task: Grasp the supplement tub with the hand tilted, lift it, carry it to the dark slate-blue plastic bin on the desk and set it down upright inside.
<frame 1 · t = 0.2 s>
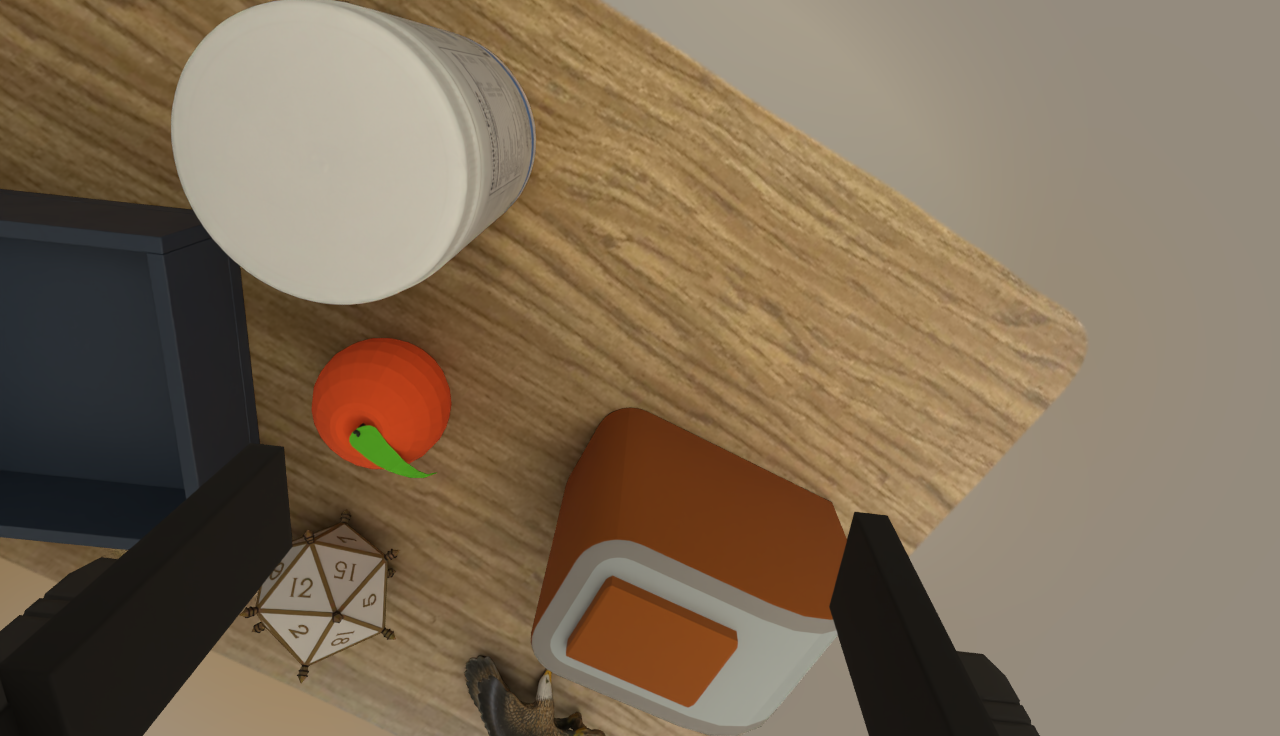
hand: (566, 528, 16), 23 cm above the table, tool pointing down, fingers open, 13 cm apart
clementine: (413, 383, 41), on the table
eagle figurine: (533, 683, 50), on the table
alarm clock: (691, 501, 44), on the table
game die: (354, 547, 46), on the table
bin: (97, 351, 41), on the table
supplement tub: (447, 133, 36), on the table
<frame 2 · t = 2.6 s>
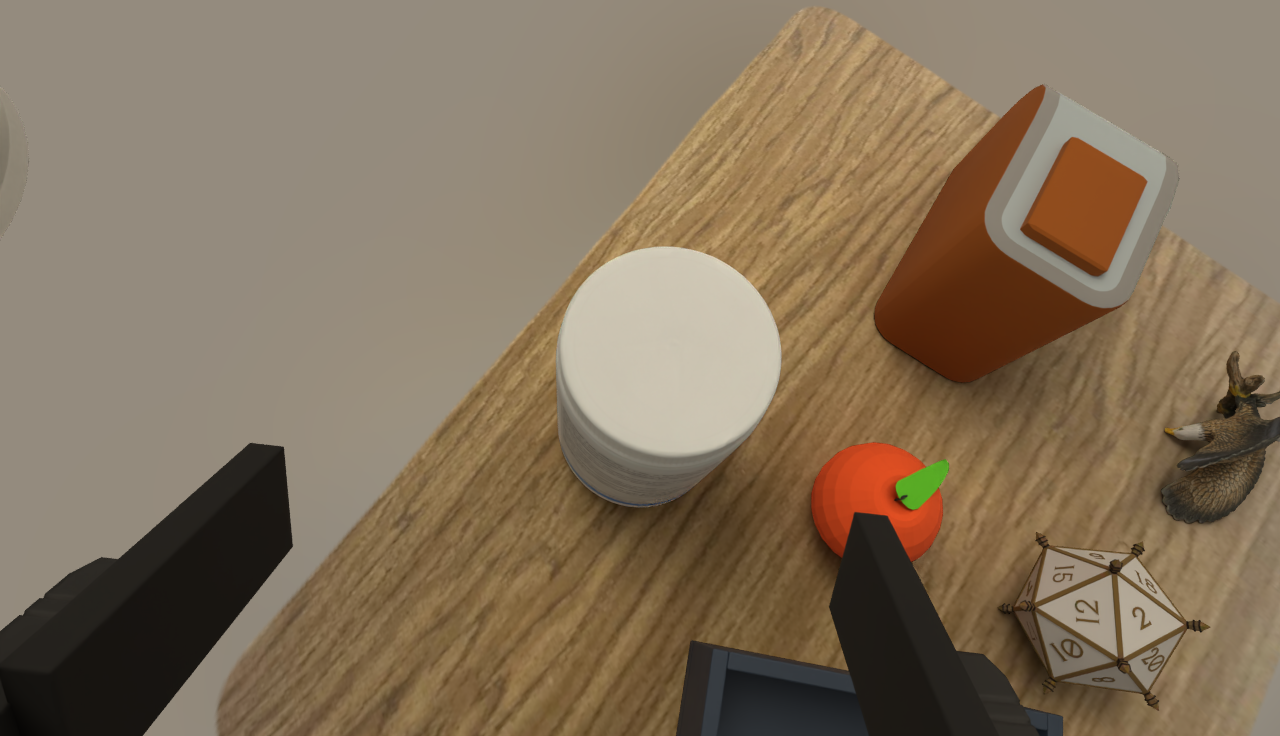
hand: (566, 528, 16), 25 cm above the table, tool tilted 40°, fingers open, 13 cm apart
clementine: (856, 507, 43), on the table
eagle figurine: (1189, 453, 47), on the table
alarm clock: (962, 278, 49), on the table
game die: (1043, 614, 42), on the table
supplement tub: (636, 428, 43), on the table
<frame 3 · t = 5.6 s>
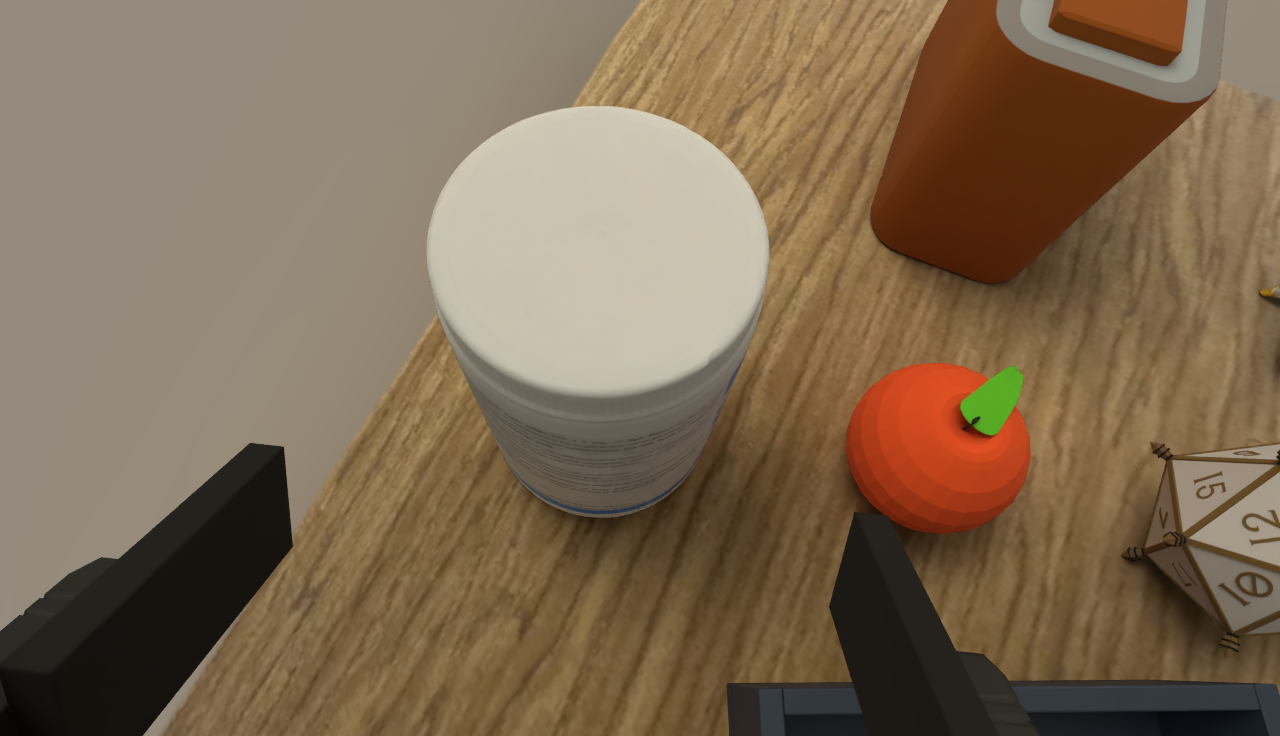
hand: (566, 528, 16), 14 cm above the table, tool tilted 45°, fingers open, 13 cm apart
clementine: (905, 461, 33), on the table
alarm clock: (966, 164, 39), on the table
game die: (1181, 551, 32), on the table
supplement tub: (600, 416, 33), on the table
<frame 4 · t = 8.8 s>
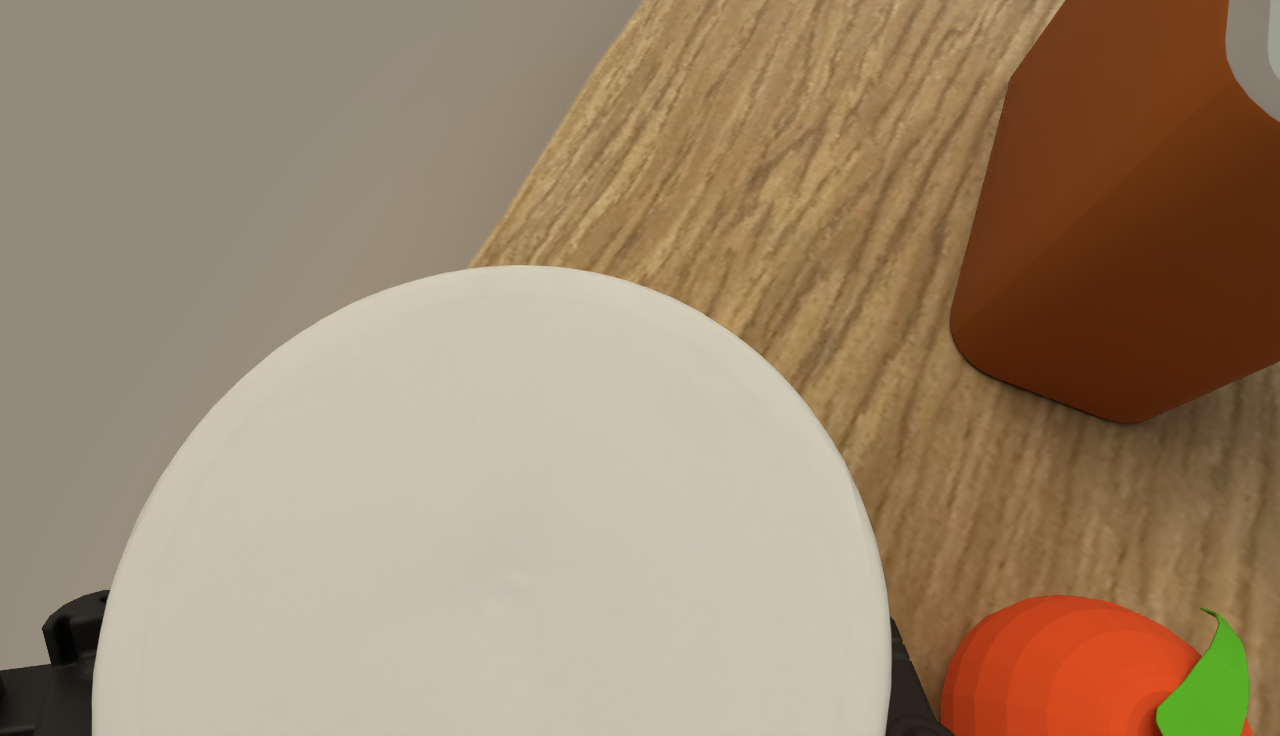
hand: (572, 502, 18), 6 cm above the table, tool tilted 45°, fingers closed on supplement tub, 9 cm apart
clementine: (1018, 710, 22), on the table
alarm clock: (1075, 243, 29), on the table
supplement tub: (564, 642, 22), on the table, touching gripper
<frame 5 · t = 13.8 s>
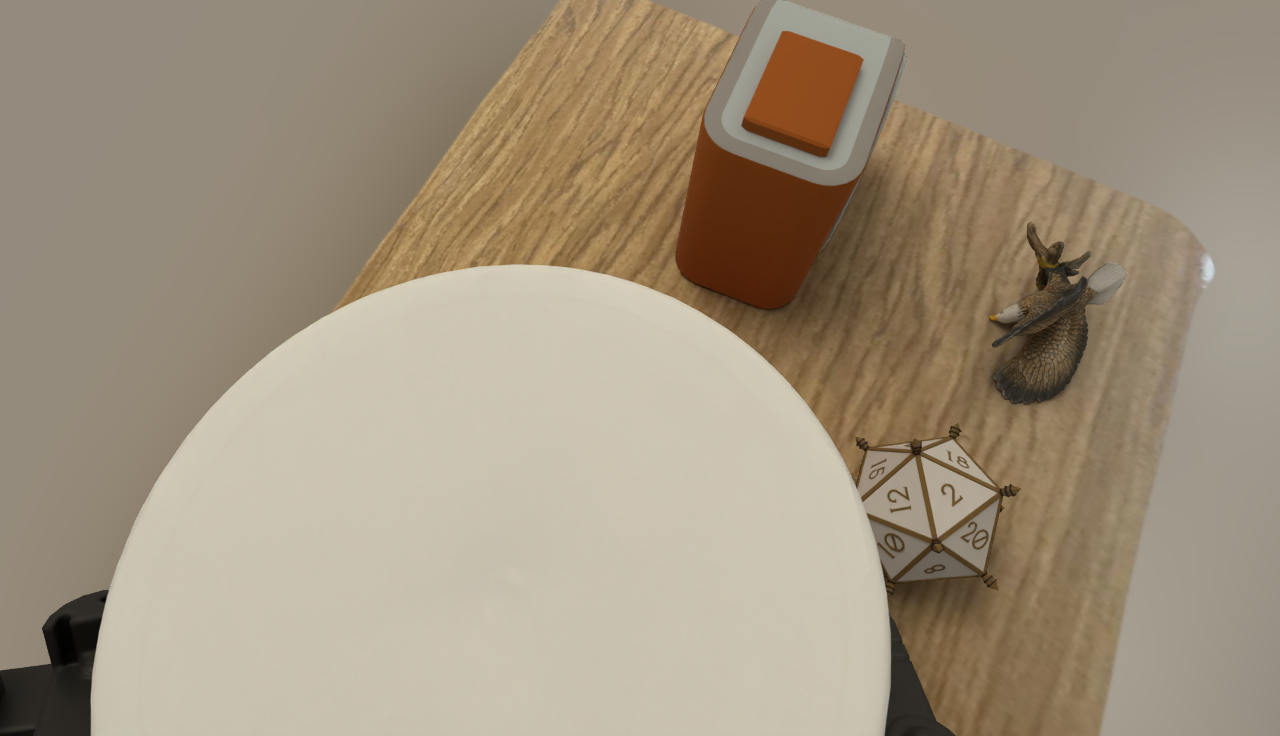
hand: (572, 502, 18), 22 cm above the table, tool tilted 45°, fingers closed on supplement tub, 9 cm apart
eagle figurine: (1018, 336, 46), on the table
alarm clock: (763, 209, 48), on the table
game die: (891, 523, 41), on the table
supplement tub: (564, 642, 22), point 16 cm above the table, touching gripper
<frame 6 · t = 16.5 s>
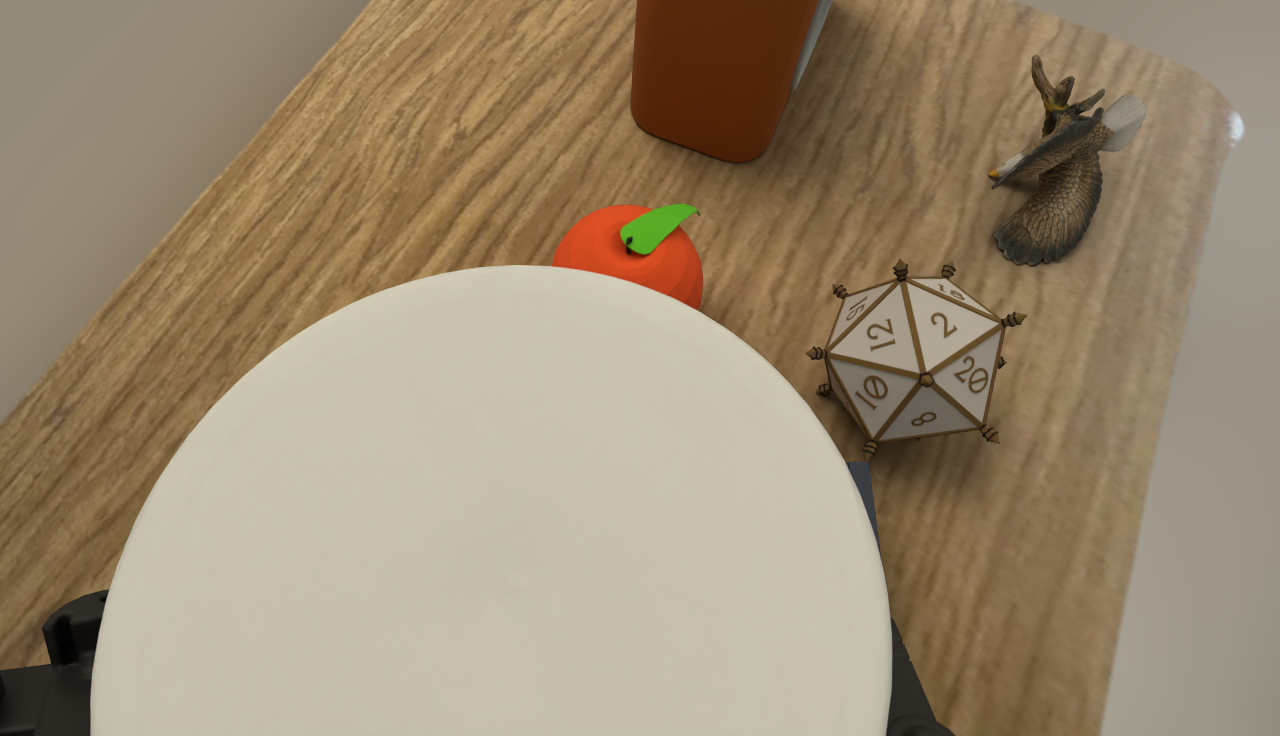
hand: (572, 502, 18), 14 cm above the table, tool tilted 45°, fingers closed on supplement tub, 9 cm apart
clementine: (631, 312, 36), on the table
eagle figurine: (1022, 194, 40), on the table
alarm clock: (732, 60, 43), on the table
game die: (875, 391, 35), on the table
bin: (630, 709, 29), on the table
supplement tub: (564, 643, 22), point 8 cm above the table, touching gripper
when the fingers open (7 cm above the table, at t = 19.1 s): supplement tub stays where it is, resting on bin.
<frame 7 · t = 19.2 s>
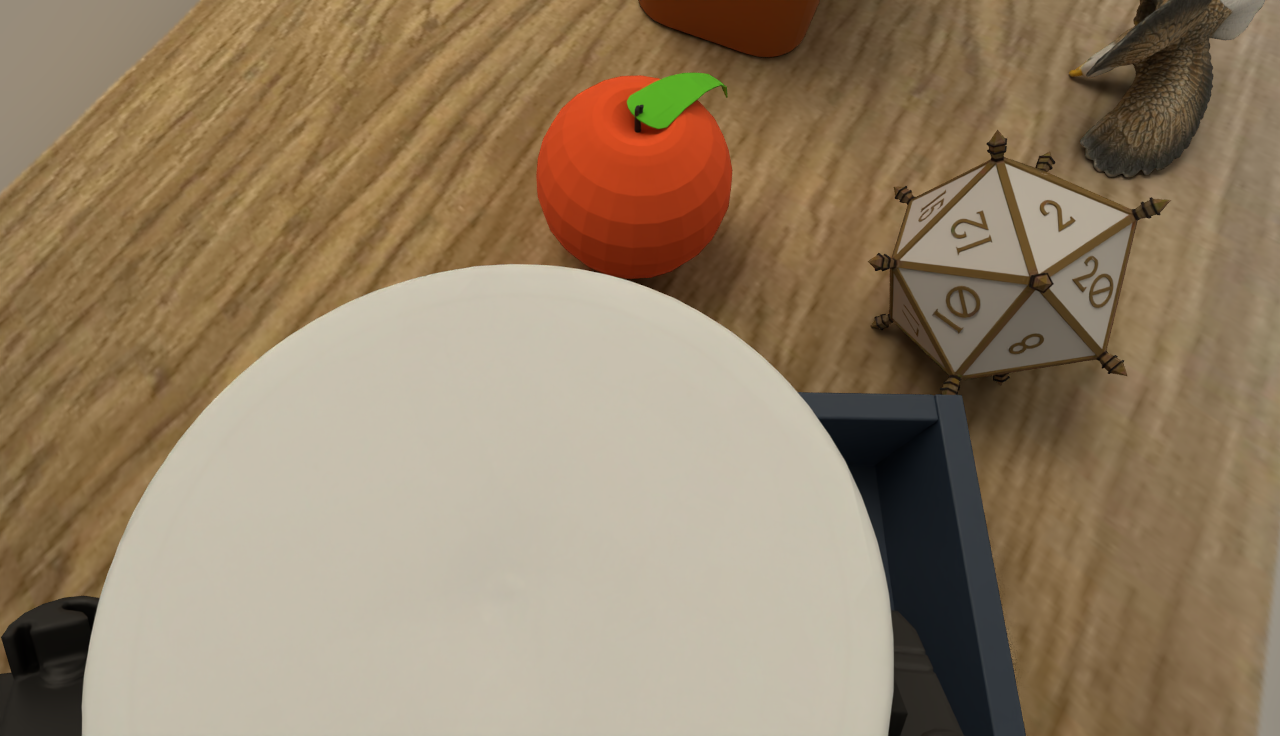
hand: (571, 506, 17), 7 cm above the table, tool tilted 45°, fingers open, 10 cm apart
clementine: (639, 230, 29), on the table
eagle figurine: (1110, 98, 33), on the table
game die: (943, 326, 28), on the table
bin: (640, 726, 22), on the table
supplement tub: (563, 644, 22), point 1 cm above the table, touching bin
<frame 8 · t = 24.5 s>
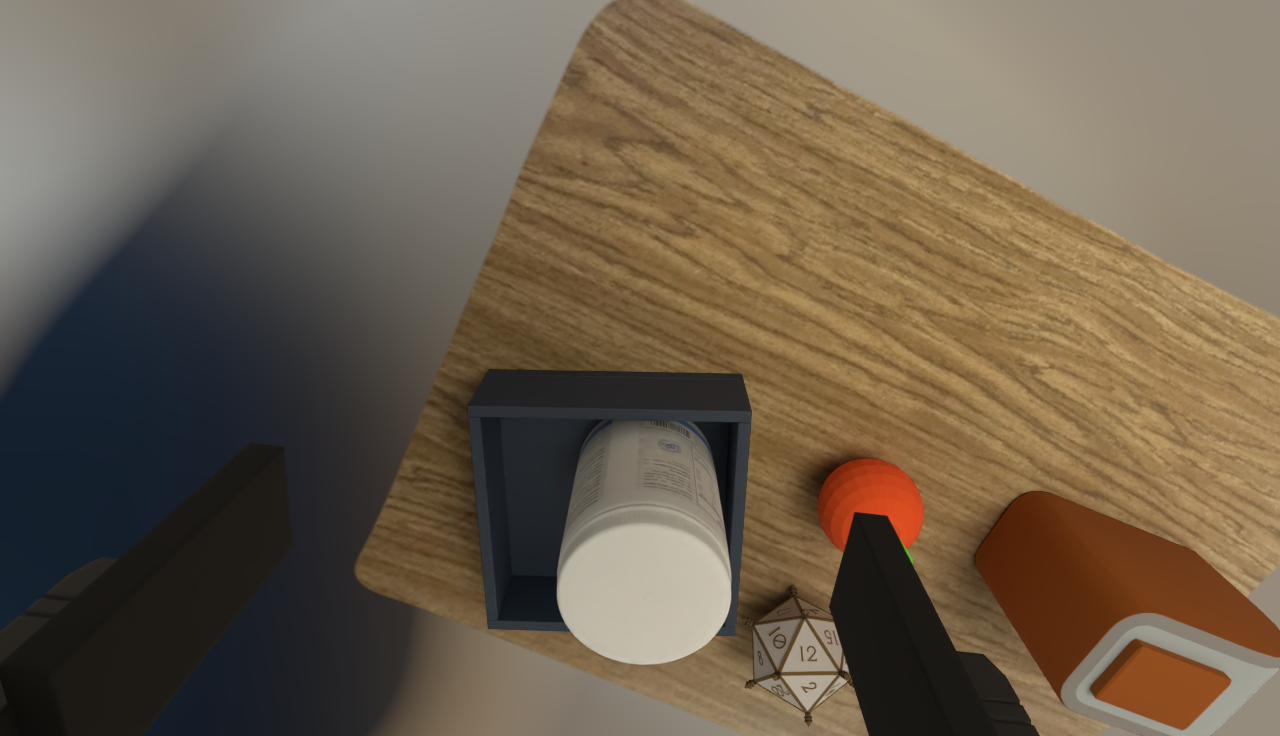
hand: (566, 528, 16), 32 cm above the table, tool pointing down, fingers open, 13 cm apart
clementine: (860, 485, 52), on the table
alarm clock: (1075, 558, 54), on the table
game die: (791, 613, 57), on the table
bin: (615, 481, 53), on the table
supplement tub: (647, 458, 51), point 1 cm above the table, touching bin
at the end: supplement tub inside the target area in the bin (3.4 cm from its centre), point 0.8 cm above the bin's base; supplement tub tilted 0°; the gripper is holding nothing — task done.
